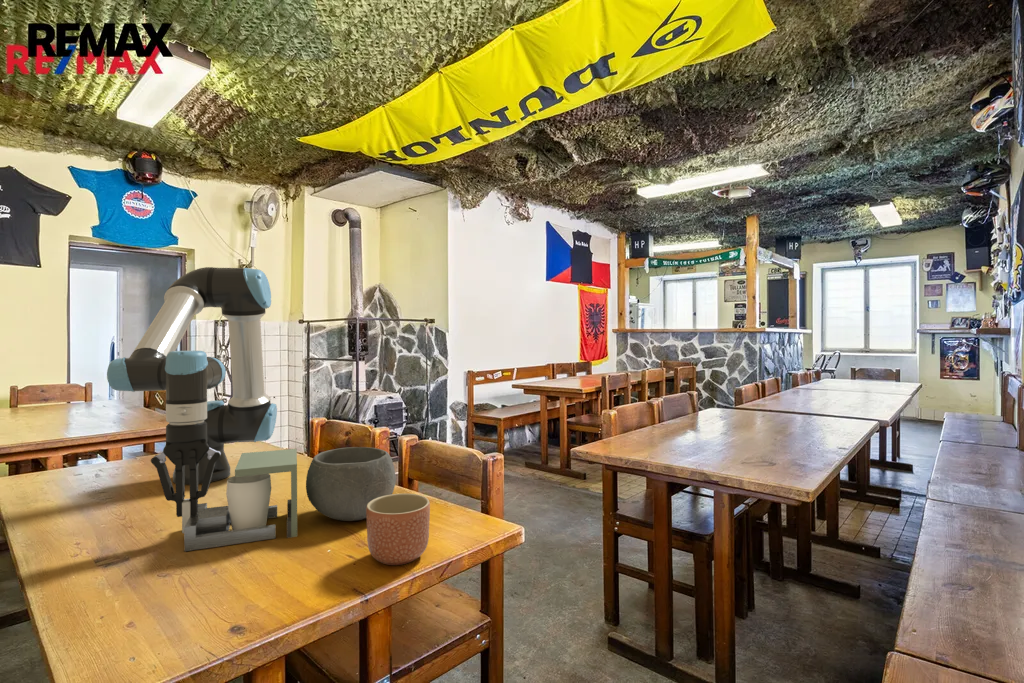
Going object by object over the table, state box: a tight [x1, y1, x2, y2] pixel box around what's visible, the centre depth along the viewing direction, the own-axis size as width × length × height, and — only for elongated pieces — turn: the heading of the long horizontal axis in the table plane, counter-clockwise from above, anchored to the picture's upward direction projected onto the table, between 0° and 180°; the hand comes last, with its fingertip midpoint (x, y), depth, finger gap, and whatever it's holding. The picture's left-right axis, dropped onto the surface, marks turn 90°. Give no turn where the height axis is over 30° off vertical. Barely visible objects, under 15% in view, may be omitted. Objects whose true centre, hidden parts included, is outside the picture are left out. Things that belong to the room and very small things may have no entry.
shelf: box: [234, 448, 298, 539], centre depth 115 cm, size 16×12×16 cm
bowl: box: [305, 446, 397, 522], centre depth 124 cm, size 21×21×15 cm
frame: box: [183, 502, 278, 552], centre depth 113 cm, size 15×17×5 cm
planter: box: [365, 493, 431, 566], centre depth 100 cm, size 12×12×11 cm
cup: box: [225, 474, 272, 530], centre depth 114 cm, size 9×9×12 cm
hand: (187, 530), depth 109 cm, fingers closed
